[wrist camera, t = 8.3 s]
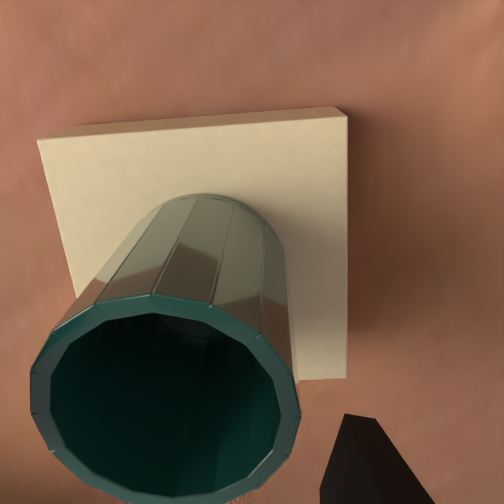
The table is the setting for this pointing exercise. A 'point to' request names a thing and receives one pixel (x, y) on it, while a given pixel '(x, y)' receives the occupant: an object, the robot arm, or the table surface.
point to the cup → (176, 361)
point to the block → (224, 184)
